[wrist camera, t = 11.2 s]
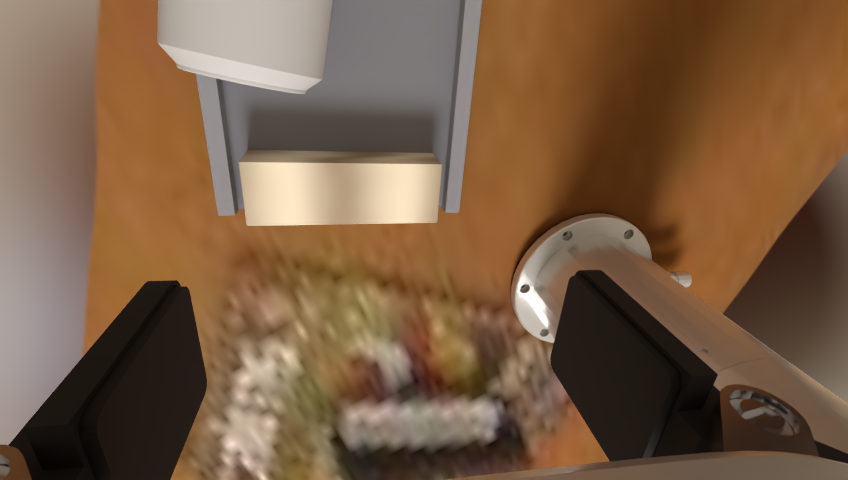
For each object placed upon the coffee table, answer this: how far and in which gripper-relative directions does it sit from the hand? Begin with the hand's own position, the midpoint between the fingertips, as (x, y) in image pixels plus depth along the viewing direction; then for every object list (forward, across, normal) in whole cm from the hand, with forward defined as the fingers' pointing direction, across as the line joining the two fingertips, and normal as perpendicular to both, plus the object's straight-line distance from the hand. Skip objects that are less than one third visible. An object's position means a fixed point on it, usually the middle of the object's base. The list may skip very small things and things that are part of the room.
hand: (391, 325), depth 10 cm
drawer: (+20, +1, -3) cm, 20 cm away
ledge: (+20, +1, +2) cm, 20 cm away
